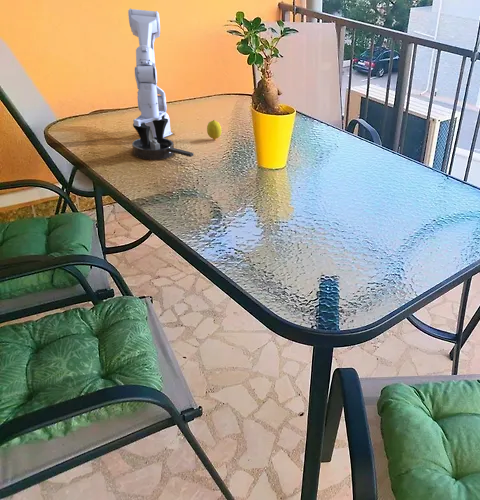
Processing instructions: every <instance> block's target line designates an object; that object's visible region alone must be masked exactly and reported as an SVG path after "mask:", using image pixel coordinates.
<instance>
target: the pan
mask: <svg viewBox="0 0 480 500" xmlns="http://www.w3.org/2000/svg"><path fill="white" fill-rule="evenodd" d="M154 139H156V140H157V142H158V143H159V145H160V149H159V150H151V146H150V141H149V145H145V144H142V141H141V138H140V137H139V138H137V139H134V140H133V141H132V142H131V146H132V154H133V155H134V156H135V157H137V158H139V159H142V160H149V161H151V160H152V161H157V160H165V159H169V158H170V157H173V155H175V153H173V152H169V148H171V147H172V148H175V145H174V141H173V140H171V139H170V138H166V137H164V138H163V139H158V138H157V137H154Z"/></svg>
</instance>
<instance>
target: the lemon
mask: <svg viewBox="0 0 480 500" xmlns="http://www.w3.org/2000/svg"><path fill="white" fill-rule="evenodd" d="M222 130H223V129H222V126H221V124H220V122H219V121H217V120H215V119H213V120H211V121H209V122H208V124H207V125H206V133H207V135H208V137H210V138H211V139H212V140H214V141H216V140H217V139H219V138H220V137H221V135H222Z"/></svg>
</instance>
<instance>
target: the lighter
mask: <svg viewBox="0 0 480 500" xmlns="http://www.w3.org/2000/svg"><path fill="white" fill-rule="evenodd" d="M149 141H150V146H151V150H159V149H160V145H159V143H158V142H157V140H156V139H154V136H153V133H152V129H150V131H149Z"/></svg>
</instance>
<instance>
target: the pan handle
mask: <svg viewBox="0 0 480 500" xmlns="http://www.w3.org/2000/svg"><path fill="white" fill-rule="evenodd" d="M169 152H173V153H174V154H178V155H181V156H186V157H188V158H191V157H193V156H194V155H195V154H194V152H192V151H189V150H188V151H187V150H184V149H180V148H175V147H174V148H172V147H171V148H169Z"/></svg>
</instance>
